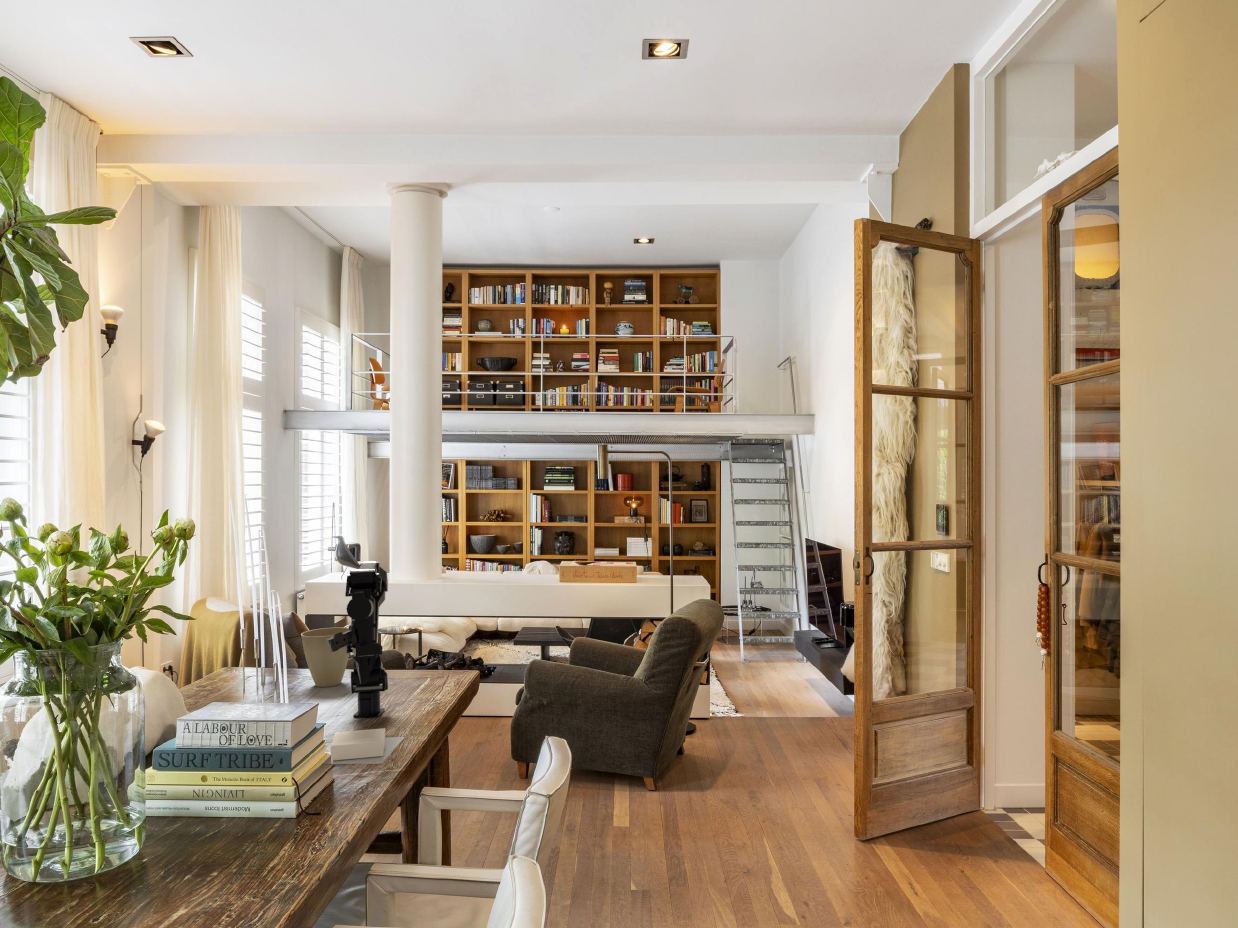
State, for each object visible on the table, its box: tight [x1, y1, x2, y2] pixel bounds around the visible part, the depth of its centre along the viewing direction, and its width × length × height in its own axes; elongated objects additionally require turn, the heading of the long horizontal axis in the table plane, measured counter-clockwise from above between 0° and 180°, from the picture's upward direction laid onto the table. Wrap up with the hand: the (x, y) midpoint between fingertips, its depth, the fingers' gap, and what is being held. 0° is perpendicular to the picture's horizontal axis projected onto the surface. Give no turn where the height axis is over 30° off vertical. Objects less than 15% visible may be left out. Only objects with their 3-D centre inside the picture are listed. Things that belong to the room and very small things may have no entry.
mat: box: [326, 736, 405, 765], centre depth 187 cm, size 18×16×1 cm
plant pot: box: [300, 627, 350, 688], centre depth 251 cm, size 15×15×16 cm
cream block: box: [331, 727, 386, 761], centre depth 186 cm, size 4×11×10 cm
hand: (362, 683), depth 203 cm, fingers closed
